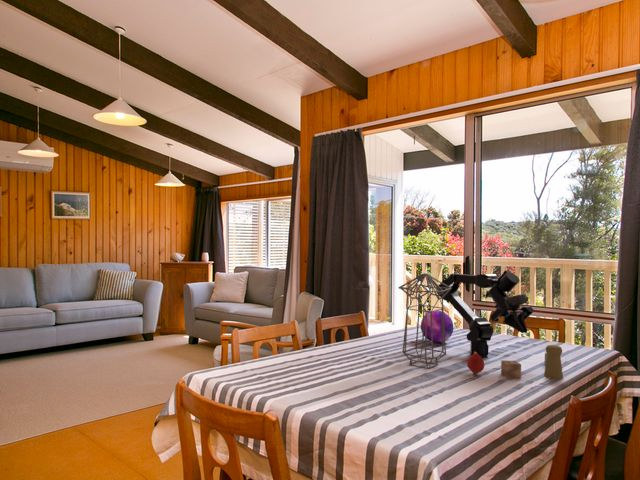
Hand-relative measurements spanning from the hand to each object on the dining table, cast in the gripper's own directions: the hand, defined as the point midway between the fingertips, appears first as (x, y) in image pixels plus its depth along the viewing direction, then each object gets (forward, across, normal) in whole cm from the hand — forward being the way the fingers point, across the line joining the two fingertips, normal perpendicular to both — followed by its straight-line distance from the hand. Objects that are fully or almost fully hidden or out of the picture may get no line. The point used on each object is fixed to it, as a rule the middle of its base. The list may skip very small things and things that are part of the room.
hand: (525, 332), depth 175 cm
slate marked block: (+10, +14, +9) cm, 20 cm away
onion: (+9, -24, +11) cm, 27 cm away
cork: (+18, +1, +2) cm, 18 cm away
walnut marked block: (+13, -14, +6) cm, 20 cm away
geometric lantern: (-3, -33, +23) cm, 40 cm away
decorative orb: (-25, +2, +45) cm, 52 cm away
